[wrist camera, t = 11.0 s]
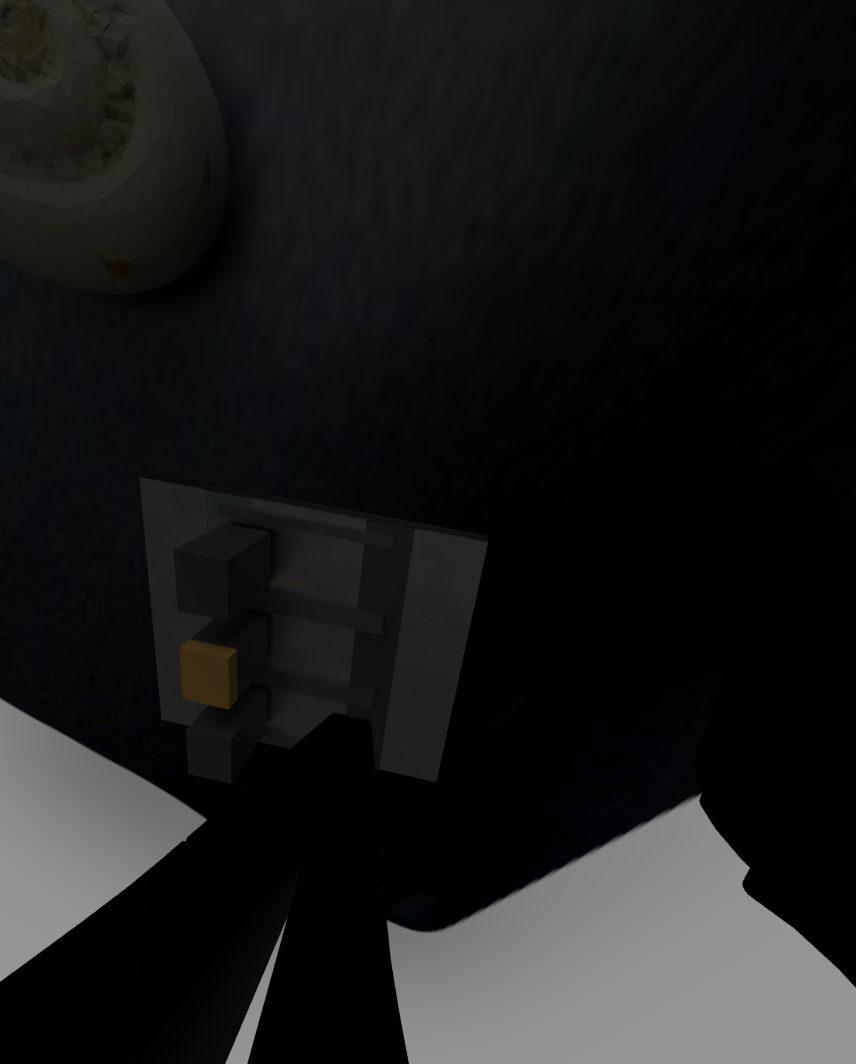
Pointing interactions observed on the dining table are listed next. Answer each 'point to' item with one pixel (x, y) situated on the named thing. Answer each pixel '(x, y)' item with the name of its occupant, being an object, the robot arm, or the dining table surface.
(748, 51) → the dining table surface
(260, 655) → the handle
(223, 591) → the handle
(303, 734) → the panel
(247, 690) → the handle
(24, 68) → the seashell
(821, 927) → the robot arm
